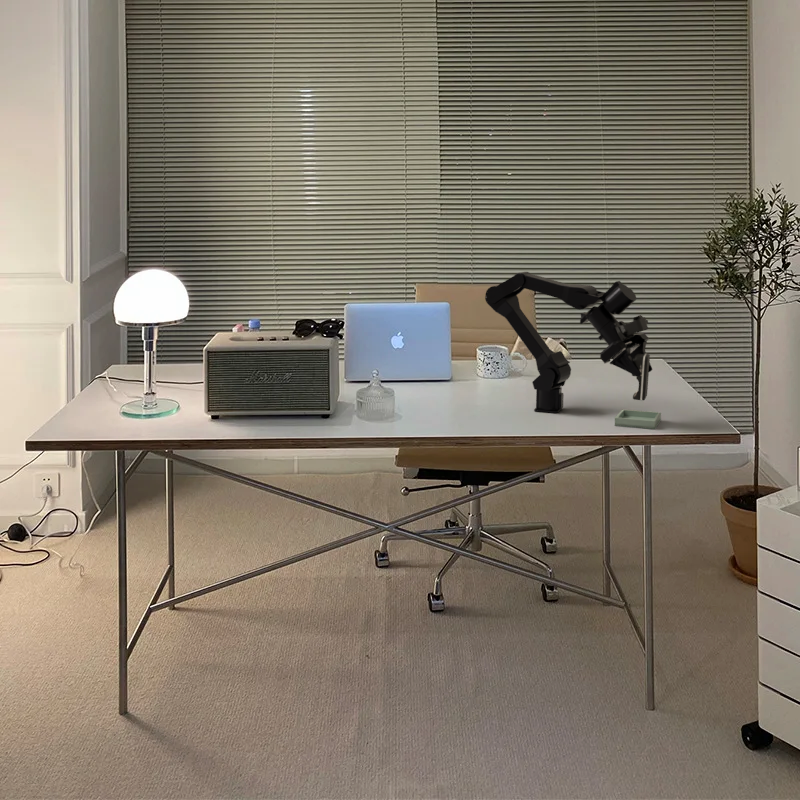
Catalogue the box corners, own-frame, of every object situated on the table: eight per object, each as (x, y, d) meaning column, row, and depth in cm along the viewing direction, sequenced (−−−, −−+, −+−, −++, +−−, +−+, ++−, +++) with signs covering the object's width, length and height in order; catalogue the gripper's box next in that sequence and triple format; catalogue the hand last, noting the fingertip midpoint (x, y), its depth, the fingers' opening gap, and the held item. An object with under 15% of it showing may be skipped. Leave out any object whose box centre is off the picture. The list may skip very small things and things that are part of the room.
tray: (614, 425, 266) (614, 417, 266) (621, 417, 275) (622, 409, 275) (654, 429, 263) (654, 421, 262) (660, 420, 272) (661, 412, 271)
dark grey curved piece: (632, 394, 271) (635, 351, 269) (647, 396, 270) (650, 352, 268) (629, 400, 265) (632, 356, 262) (644, 401, 264) (647, 357, 261)
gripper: (614, 310, 257) (654, 359, 253) (643, 301, 272) (681, 348, 268) (583, 338, 263) (622, 386, 260) (613, 328, 278) (650, 374, 275)
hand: (645, 373), depth 265 cm, fingers closed on dark grey curved piece, 7 cm apart
